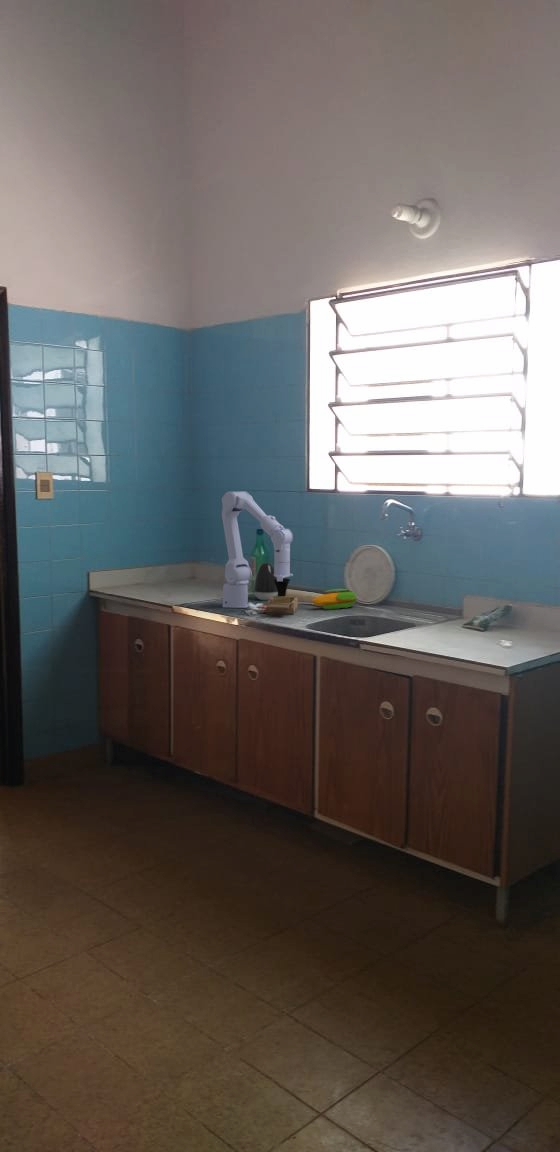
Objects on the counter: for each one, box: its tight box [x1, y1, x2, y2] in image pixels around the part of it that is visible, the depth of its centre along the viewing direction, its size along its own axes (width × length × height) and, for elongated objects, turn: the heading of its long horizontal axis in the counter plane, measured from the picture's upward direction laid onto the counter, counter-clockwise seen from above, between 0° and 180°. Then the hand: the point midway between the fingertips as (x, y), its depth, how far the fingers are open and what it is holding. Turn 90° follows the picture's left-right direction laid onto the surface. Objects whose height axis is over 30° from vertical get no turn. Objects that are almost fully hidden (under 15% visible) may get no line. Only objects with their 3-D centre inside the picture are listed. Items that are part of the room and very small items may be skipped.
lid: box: [267, 595, 291, 609], centre depth 333 cm, size 14×7×3 cm, turn 173°
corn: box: [311, 588, 357, 610], centre depth 349 cm, size 7×8×20 cm
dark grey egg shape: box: [253, 561, 278, 601], centre depth 371 cm, size 10×10×15 cm
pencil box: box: [265, 596, 299, 616], centre depth 342 cm, size 16×10×4 cm, turn 173°
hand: (281, 598), depth 340 cm, fingers closed
